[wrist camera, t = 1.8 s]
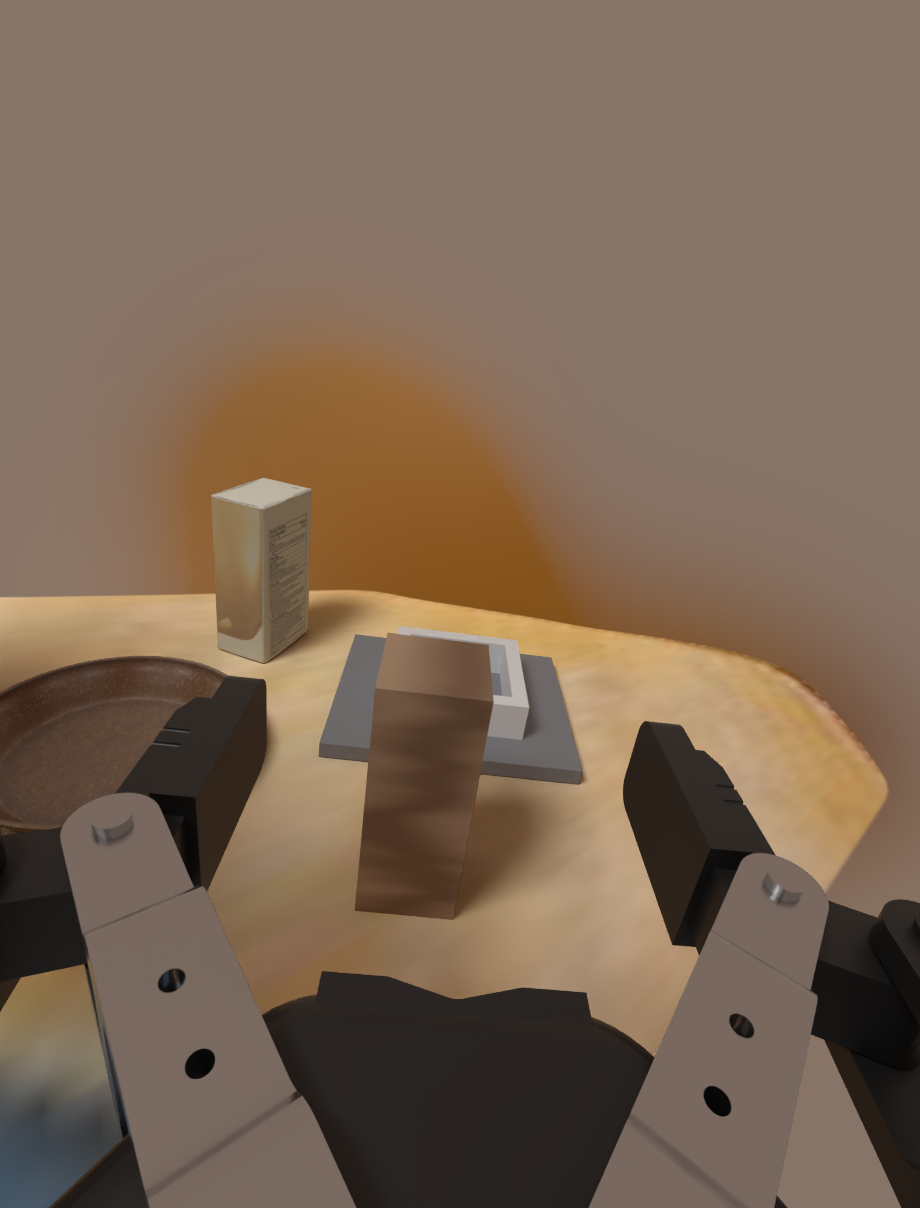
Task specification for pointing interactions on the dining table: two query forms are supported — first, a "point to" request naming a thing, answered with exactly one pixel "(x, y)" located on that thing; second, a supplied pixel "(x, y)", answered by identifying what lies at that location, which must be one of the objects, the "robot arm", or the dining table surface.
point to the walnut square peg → (422, 774)
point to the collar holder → (518, 720)
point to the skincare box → (261, 567)
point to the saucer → (86, 731)
